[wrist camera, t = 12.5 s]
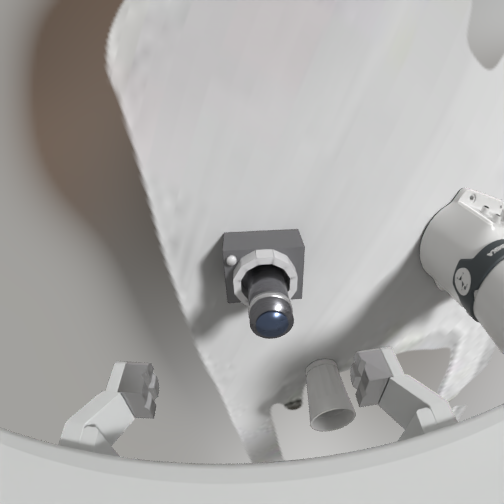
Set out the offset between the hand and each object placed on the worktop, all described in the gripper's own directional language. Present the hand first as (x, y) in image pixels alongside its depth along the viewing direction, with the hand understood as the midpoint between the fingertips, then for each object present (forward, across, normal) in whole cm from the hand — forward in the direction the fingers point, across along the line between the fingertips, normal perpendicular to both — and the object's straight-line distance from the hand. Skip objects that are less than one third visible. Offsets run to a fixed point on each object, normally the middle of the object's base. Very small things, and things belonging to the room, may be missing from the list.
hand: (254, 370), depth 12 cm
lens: (+26, -2, +13) cm, 29 cm away
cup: (+31, -13, +39) cm, 52 cm away
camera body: (+31, -2, +13) cm, 34 cm away
